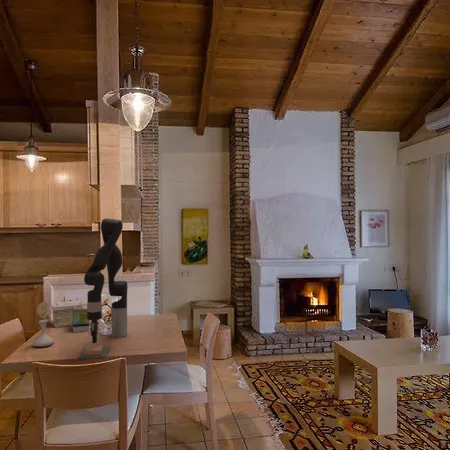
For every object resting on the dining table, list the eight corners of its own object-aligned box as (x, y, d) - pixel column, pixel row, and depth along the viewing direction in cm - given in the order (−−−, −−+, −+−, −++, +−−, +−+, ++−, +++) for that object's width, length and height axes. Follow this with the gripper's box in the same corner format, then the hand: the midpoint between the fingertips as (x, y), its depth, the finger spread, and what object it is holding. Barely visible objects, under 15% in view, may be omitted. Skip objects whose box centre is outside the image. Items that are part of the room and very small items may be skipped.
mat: (83, 348, 225) (83, 347, 225) (110, 347, 228) (110, 346, 228) (77, 358, 207) (77, 357, 207) (106, 357, 210) (106, 356, 210)
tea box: (89, 331, 263) (89, 308, 263) (73, 332, 259) (72, 309, 259) (88, 326, 277) (88, 304, 277) (72, 327, 273) (72, 305, 273)
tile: (87, 346, 218) (84, 351, 210) (102, 345, 219) (100, 350, 211) (87, 351, 218) (84, 356, 210) (102, 350, 219) (100, 355, 211)
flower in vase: (29, 345, 232) (28, 301, 232) (49, 341, 240) (49, 298, 240) (37, 350, 223) (37, 303, 223) (58, 346, 231) (58, 301, 231)
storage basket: (52, 328, 271) (52, 306, 271) (50, 323, 285) (50, 302, 285) (90, 324, 281) (90, 303, 281) (86, 320, 296) (86, 299, 296)
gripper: (89, 307, 224) (89, 339, 224) (84, 312, 211) (85, 346, 211) (103, 307, 225) (103, 339, 225) (100, 312, 212) (100, 346, 212)
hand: (94, 342), depth 218 cm, fingers closed
